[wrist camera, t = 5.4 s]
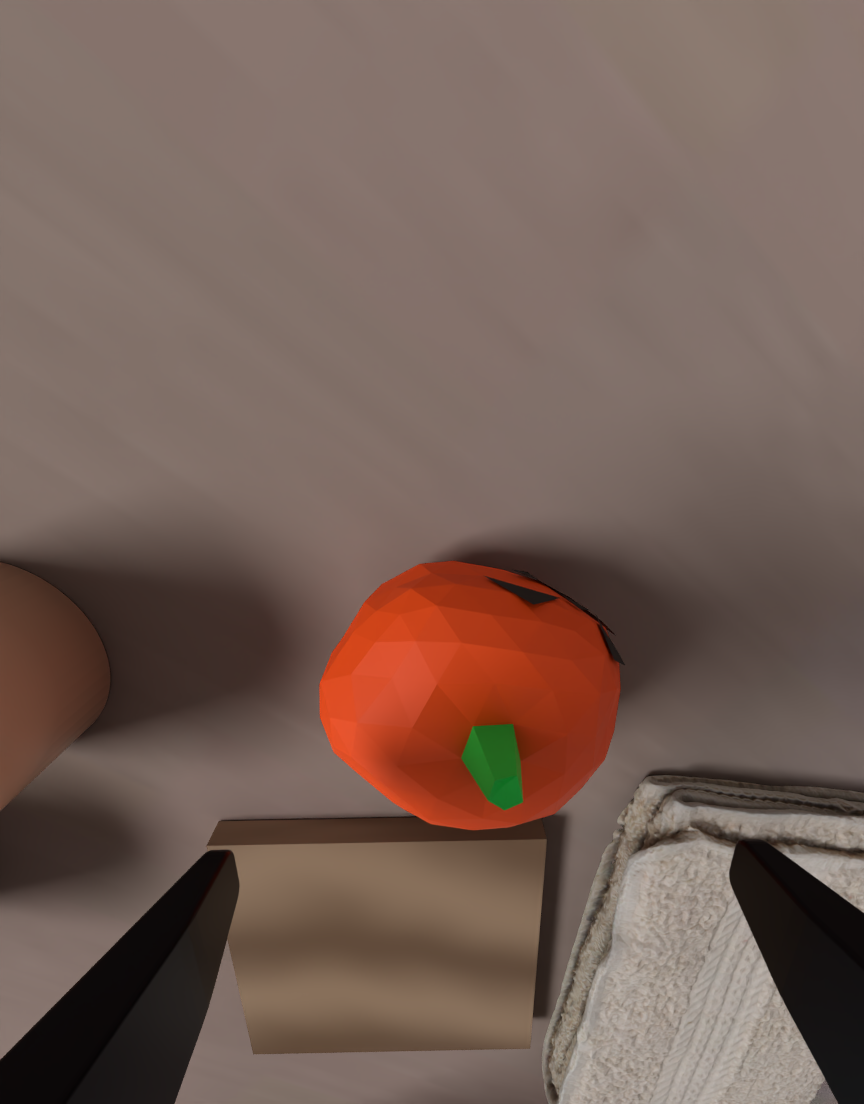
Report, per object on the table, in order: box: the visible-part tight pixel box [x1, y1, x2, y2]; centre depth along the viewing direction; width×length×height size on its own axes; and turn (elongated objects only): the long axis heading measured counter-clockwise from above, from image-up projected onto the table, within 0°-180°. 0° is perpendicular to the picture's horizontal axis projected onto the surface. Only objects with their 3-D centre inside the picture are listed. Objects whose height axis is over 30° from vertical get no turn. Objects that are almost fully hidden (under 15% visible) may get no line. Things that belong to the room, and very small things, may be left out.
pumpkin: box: [319, 561, 625, 830], centre depth 12 cm, size 7×8×6 cm
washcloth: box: [542, 775, 864, 1104], centre depth 18 cm, size 12×18×3 cm, turn 174°
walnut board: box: [207, 817, 547, 1054], centre depth 18 cm, size 12×12×1 cm
